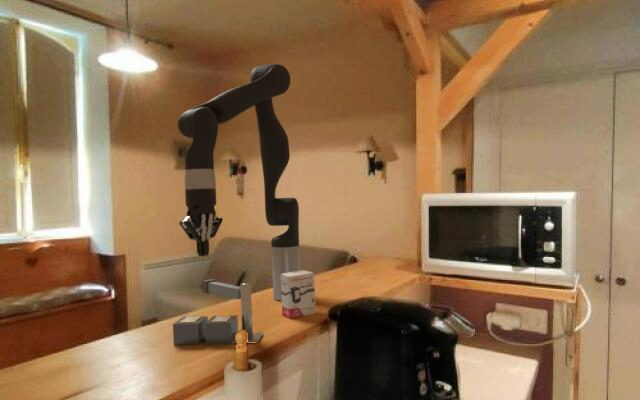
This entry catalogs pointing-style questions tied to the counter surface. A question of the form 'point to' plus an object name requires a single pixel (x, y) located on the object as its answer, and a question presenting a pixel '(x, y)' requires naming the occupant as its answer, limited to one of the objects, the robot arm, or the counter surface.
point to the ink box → (298, 294)
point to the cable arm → (221, 289)
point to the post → (247, 314)
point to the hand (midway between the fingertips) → (203, 255)
